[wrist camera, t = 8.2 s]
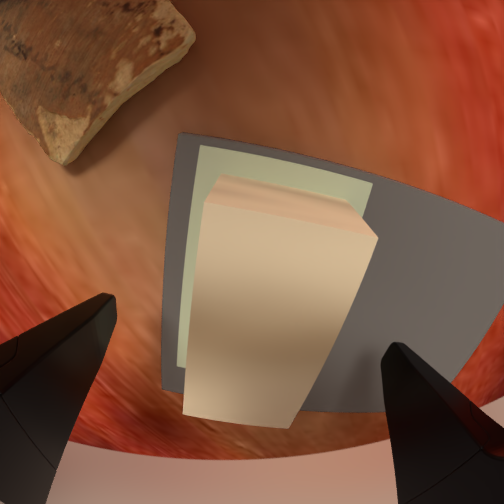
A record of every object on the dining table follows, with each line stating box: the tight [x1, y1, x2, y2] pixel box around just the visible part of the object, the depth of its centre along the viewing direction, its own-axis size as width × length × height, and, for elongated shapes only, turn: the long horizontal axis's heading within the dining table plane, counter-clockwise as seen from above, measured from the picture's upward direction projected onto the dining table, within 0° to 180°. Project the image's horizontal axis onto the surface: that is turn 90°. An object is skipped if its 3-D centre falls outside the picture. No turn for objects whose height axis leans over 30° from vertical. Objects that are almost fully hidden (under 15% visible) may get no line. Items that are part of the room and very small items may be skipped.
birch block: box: [183, 173, 378, 429], centre depth 10 cm, size 8×4×3 cm, turn 169°
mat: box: [161, 132, 504, 413], centre depth 12 cm, size 16×12×1 cm
